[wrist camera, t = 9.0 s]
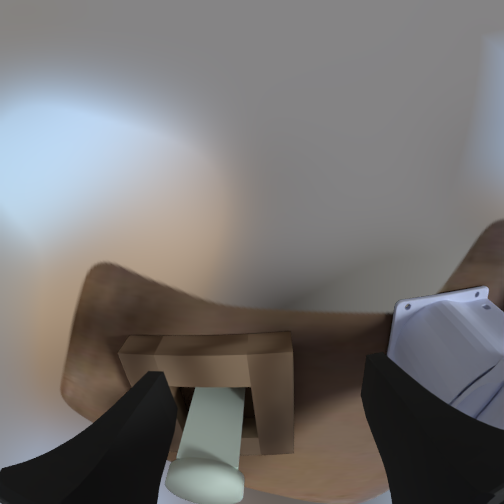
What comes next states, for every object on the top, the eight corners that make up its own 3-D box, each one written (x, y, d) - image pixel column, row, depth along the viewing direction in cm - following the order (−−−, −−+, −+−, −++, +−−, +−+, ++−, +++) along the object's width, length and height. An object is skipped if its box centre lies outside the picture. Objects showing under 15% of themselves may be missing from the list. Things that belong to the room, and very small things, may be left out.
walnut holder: (290, 330, 21) (292, 351, 18) (292, 433, 25) (293, 453, 22) (129, 335, 22) (117, 353, 19) (168, 432, 26) (162, 450, 23)
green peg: (253, 383, 23) (247, 482, 14) (246, 421, 24) (239, 509, 15) (190, 374, 23) (161, 468, 14) (190, 412, 24) (167, 497, 15)
